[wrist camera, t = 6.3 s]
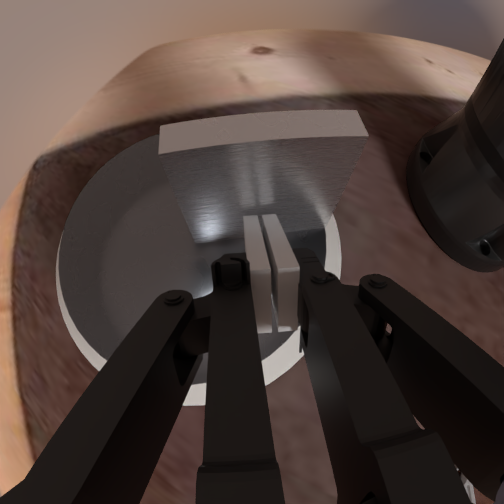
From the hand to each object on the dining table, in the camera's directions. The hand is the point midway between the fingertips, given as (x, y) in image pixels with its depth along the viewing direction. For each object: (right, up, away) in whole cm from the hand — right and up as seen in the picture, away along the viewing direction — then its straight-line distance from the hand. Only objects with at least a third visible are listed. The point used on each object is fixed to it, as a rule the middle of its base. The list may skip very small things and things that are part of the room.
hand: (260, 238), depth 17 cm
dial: (-5, 0, +4) cm, 7 cm away
